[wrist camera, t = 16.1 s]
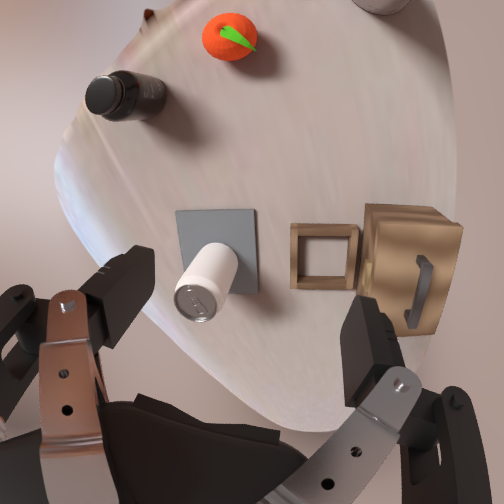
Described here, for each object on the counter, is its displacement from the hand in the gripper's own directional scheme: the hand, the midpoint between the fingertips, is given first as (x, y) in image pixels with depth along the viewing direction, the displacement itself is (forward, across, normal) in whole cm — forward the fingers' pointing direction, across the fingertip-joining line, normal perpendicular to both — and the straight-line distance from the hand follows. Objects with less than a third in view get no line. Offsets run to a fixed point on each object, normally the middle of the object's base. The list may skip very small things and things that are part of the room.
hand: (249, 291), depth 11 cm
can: (+30, +7, +17) cm, 35 cm away
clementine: (+32, +9, -15) cm, 37 cm away
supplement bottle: (+32, +22, -6) cm, 39 cm away
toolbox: (+31, -14, +11) cm, 36 cm away
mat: (+31, +8, +16) cm, 35 cm away
